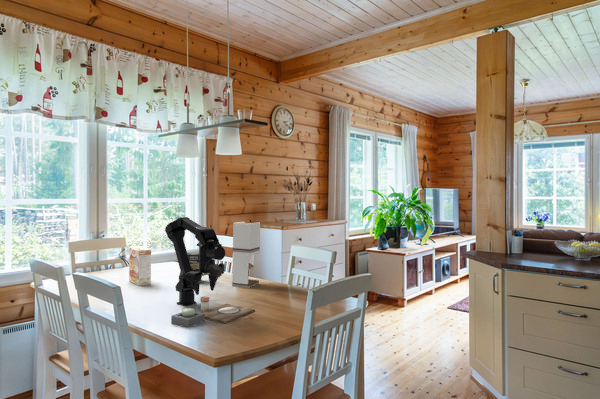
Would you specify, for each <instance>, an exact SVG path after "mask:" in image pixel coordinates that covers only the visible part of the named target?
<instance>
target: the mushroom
mask: <svg viewBox="0 0 600 399" xmlns="http://www.w3.org/2000/svg"><path fill="white" fill-rule="evenodd" d="M199 299H200V311H201V312H204V311H207V310H209V309H210V306H209V305H210V296H200V298H199Z"/></svg>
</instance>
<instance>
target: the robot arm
mask: <svg viewBox="0 0 600 399" xmlns="http://www.w3.org/2000/svg"><path fill="white" fill-rule="evenodd" d="M164 231H165V233H166V236H167V238H168V239H169V240H170V241H171V242H172V243H173V248H174V251H175V255H176V259H177V263H178V266H179V270H180V271H179V276H178V282H177V283H176V285H175V291H176V292H179V294H178V297H179V298H178V300H179V301H177V302H176V304H177V305H182V306H186V307H187V306H190V305H193V304H197V301H196V300H195V295H196V296H199V294H200V286H201V285H200V283H201V282H202V281H203V279H202V277H205V276H208V281H209V282H208V283H209V288H210V291H214V289H215V287H216V283H217V281H218V279H219V278H221V277H222V276H223V274H225V270H226V269H225V268H226V266H225V263H223V262H222V263H221V262H220V263H219V264H218V263H216V261H221V260H223V259H224V258H225V256H226V250H225V248H224V247H223V246H222V243H220V241H219V238H218V236H217V234H216V231H215V229H214V228H211V227H207V226H202V225H200V224H199V223H197V222H196V221H193V220H192V219H191V218H190V217H188V216H181V217H178V218H177V219H176V220H173V221H171V222H169V223H167V225H166V226H165V228H164ZM186 231H188V232H190V234H191V233H192V234H193V235H194V238H195V239H196V240H197V241H198V242H197V244H196V247H198V253H199V259H197V262H199V268H198V269H197V270H196V269H194V270H193V269H192V268H191V265H190V261H189V258H188V254H187V253H188V252H187V248H186V245H185V244H186V243H185V240H184V238H185V235H186ZM197 271H199V272H197ZM200 279H201V280H200Z"/></svg>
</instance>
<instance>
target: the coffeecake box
mask: <svg viewBox="0 0 600 399" xmlns="http://www.w3.org/2000/svg"><path fill="white" fill-rule="evenodd" d="M128 253H129V260H128V261H129V265H128V266H129V270H128V274H129V276H128V281H129V282H130V283H132V284H134V285H137V286H139V287H140V286H147V285H151V284H152V283H151V282H152V280H151V277H152V249H151V248H148V247H145V246H141V245H139V246H129V252H128Z"/></svg>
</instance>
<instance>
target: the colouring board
mask: <svg viewBox="0 0 600 399" xmlns="http://www.w3.org/2000/svg"><path fill="white" fill-rule="evenodd" d="M253 311H254V312H256V309H255V308H251V307H247V306H241V305H235V304H231V303H223V304H220V305H219V306H216V307H211V308H209V310H207V311H201V312H200V313H203V314H205V320H208V319H209V321H214V322H218V323H222V324H227V323H229V322H232V321H234V320H236V319H239V318H242V317H245V316H246V315H248V314H251V313H253Z"/></svg>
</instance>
